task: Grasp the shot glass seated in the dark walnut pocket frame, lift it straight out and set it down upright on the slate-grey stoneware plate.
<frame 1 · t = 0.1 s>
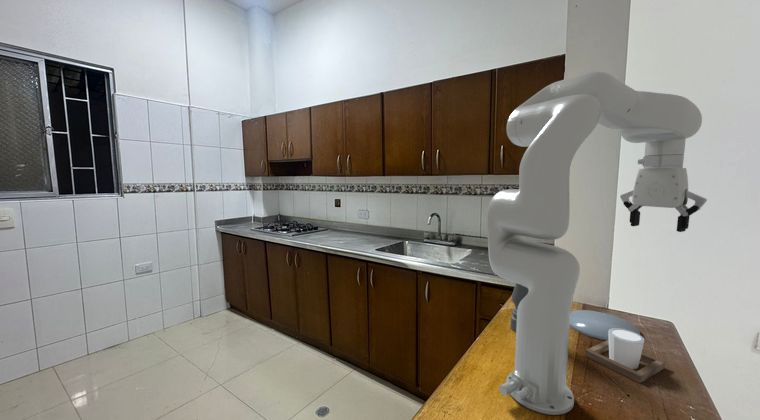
hand: (656, 228, 81), 31 cm above the counter, fingers open, 9 cm apart
pocket frame: (623, 361, 75), on the counter
shot glass: (623, 362, 75), resting in pocket frame
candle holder: (521, 329, 91), on the counter
plate: (600, 326, 92), on the counter
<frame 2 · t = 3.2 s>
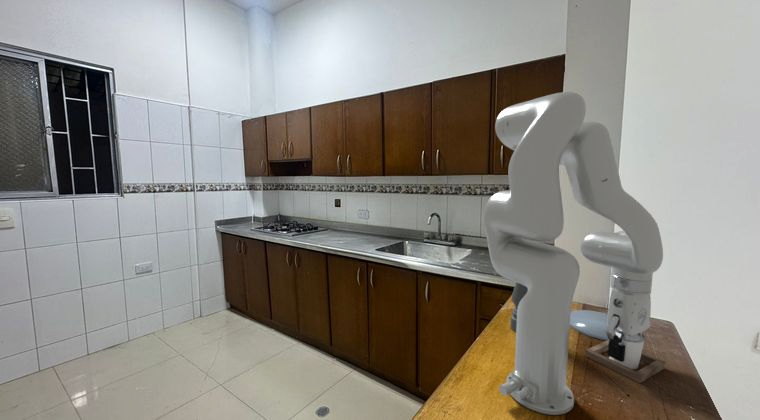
hand: (624, 353, 75), 2 cm above the counter, fingers closed on shot glass, 6 cm apart
shot glass: (623, 362, 75), resting in pocket frame, touching gripper
everything else where it was.
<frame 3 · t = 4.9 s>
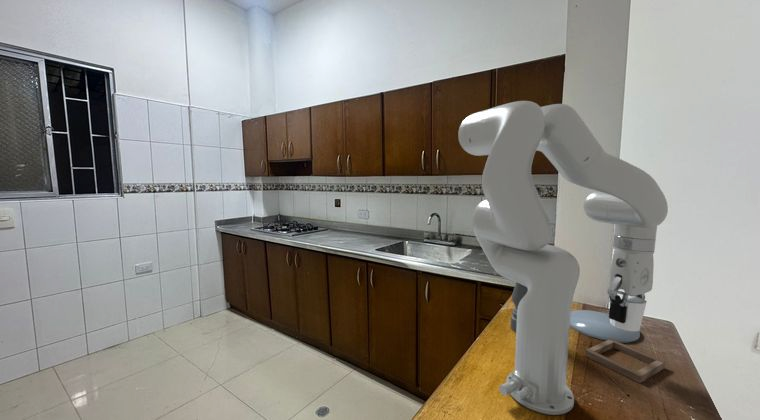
hand: (625, 317, 73), 12 cm above the counter, fingers closed on shot glass, 6 cm apart
shot glass: (624, 326, 74), point 9 cm above the counter, touching gripper
everything else where it was.
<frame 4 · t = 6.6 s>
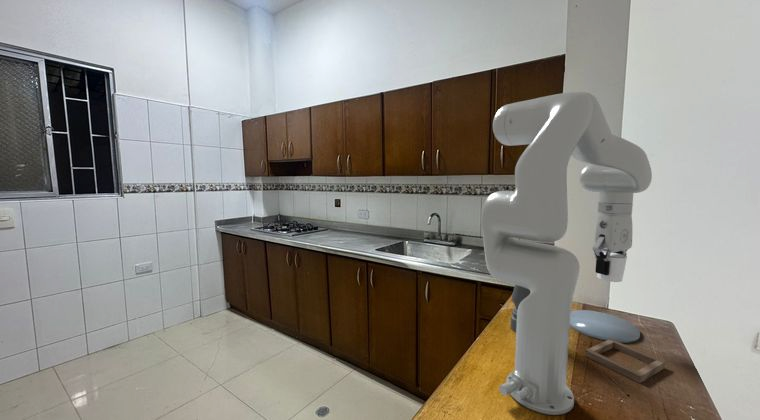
hand: (609, 271, 87), 18 cm above the counter, fingers closed on shot glass, 6 cm apart
shot glass: (609, 279, 87), point 16 cm above the counter, touching gripper
everything else where it was.
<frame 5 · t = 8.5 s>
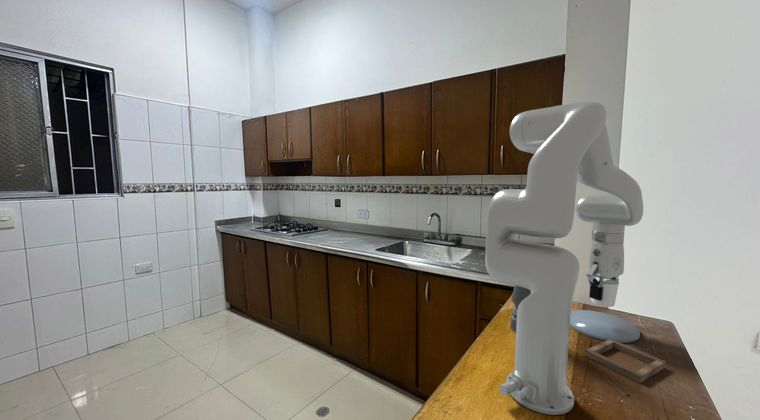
hand: (603, 296, 91), 9 cm above the counter, fingers closed on shot glass, 6 cm apart
shot glass: (602, 303, 92), point 7 cm above the counter, touching gripper
everything else where it was.
when the fingers open (4 cm above the counter, at t = 10.0 s): shot glass drops 1 cm, resting on plate.
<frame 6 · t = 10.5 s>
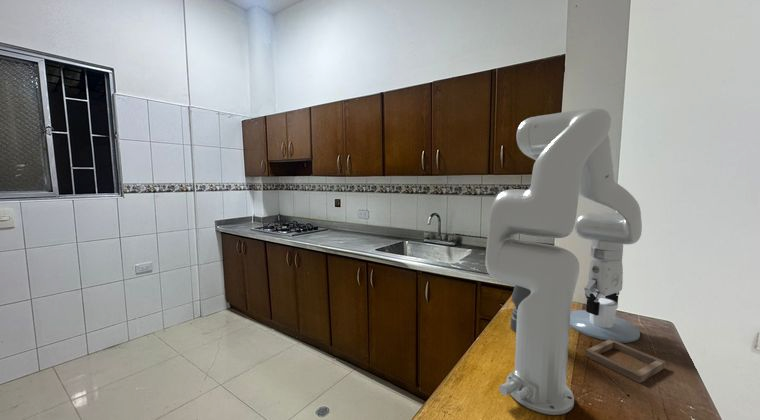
hand: (601, 310, 92), 5 cm above the counter, fingers open, 9 cm apart
shot glass: (601, 323, 92), point 1 cm above the counter, touching plate
everything else where it was.
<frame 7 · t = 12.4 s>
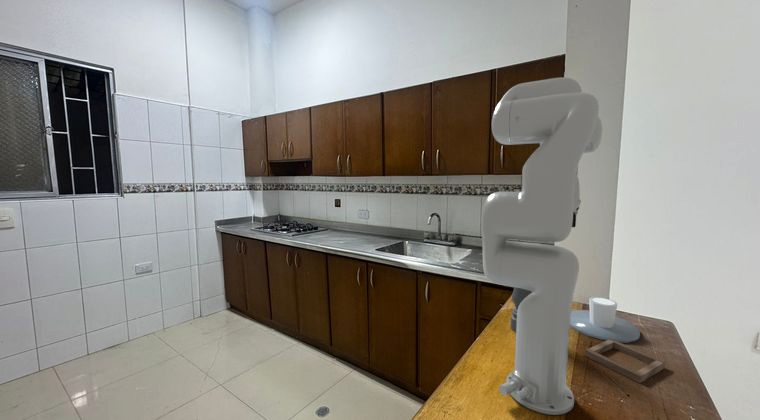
hand: (559, 227, 95), 29 cm above the counter, fingers open, 9 cm apart
nothing on the counter moved.
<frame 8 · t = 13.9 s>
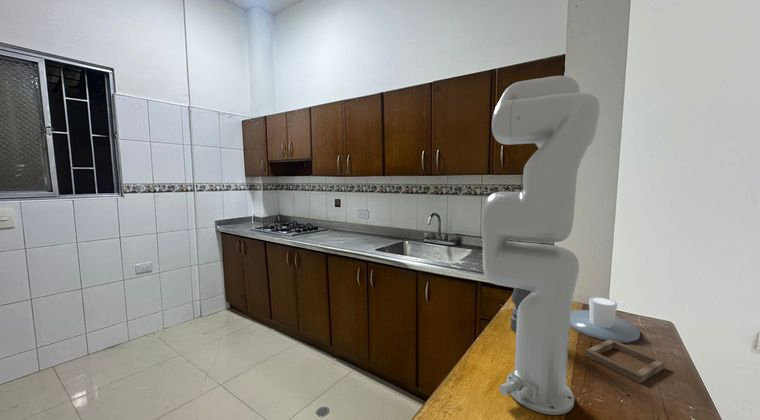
hand: (553, 223, 96), 30 cm above the counter, fingers open, 9 cm apart
nothing on the counter moved.
at the end: shot glass inside the target area on the plate (0.1 cm from its centre), point 0.8 cm above the plate's base; shot glass tilted 0°; the gripper is holding nothing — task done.
